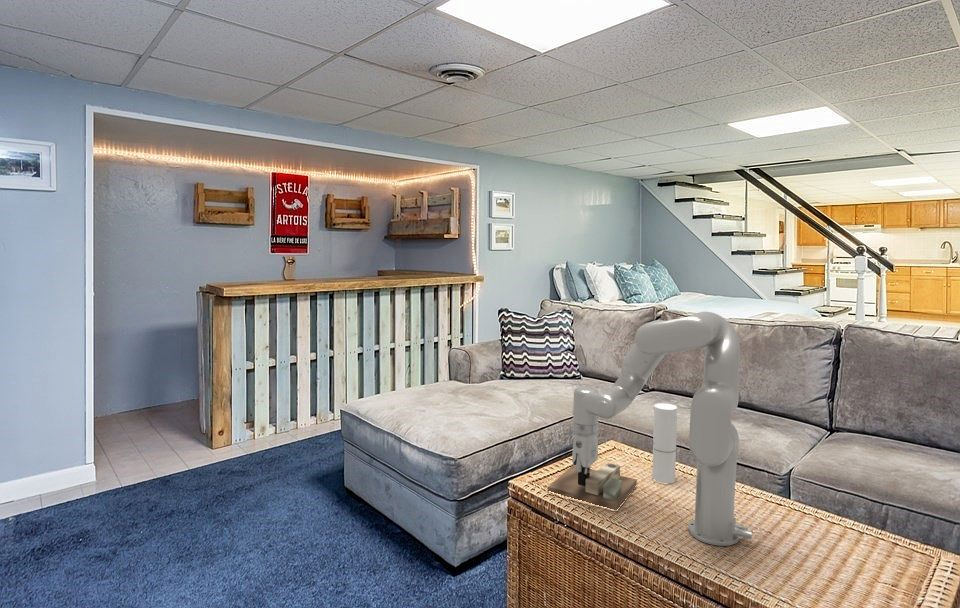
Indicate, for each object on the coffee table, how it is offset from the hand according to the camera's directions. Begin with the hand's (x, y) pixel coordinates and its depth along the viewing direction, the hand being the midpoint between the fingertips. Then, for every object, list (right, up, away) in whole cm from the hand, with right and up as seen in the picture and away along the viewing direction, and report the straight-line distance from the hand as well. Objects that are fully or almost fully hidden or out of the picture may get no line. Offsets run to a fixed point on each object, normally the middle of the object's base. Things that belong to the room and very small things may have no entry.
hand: (583, 484), depth 167 cm
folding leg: (+7, -1, +3) cm, 7 cm away
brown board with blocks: (+4, -4, +5) cm, 7 cm away
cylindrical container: (+29, -3, +13) cm, 32 cm away
